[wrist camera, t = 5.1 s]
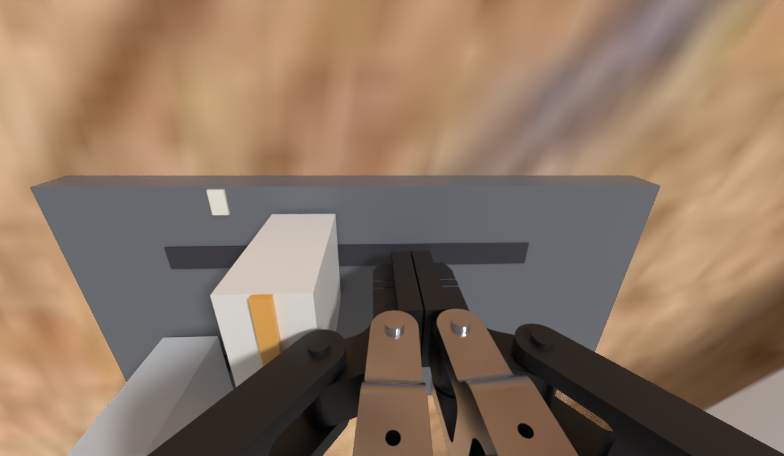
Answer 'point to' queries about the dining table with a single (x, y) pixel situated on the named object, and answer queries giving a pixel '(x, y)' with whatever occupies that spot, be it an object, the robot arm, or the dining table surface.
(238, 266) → the white fader
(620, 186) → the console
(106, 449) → the grey fader
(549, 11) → the dining table surface
